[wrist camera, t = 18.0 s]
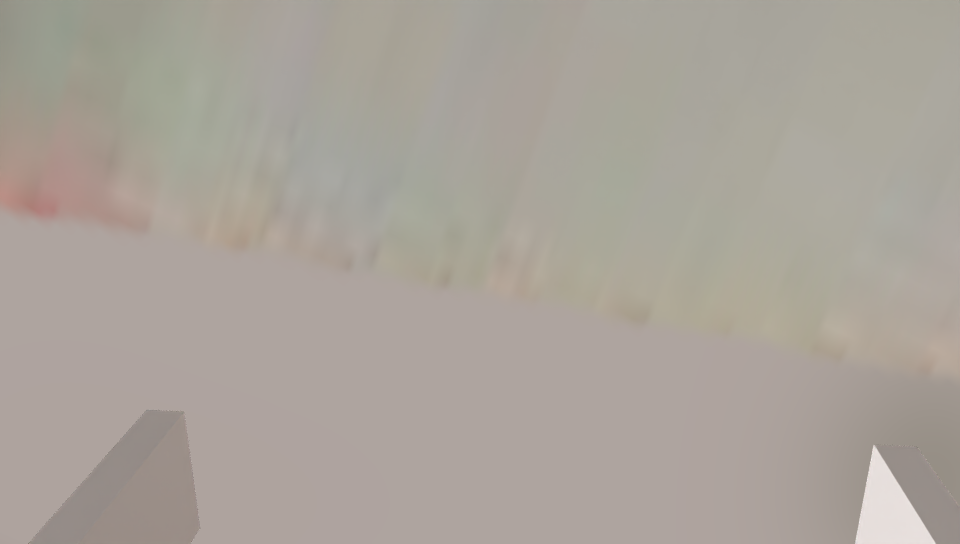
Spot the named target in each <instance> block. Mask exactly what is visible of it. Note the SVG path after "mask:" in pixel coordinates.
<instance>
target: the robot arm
mask: <svg viewBox="0 0 960 544" xmlns="http://www.w3.org/2000/svg"><path fill="white" fill-rule="evenodd" d="M199 529H200V524H199V517H198V509H197V502H196V494H195V487H194V479H193V472H192V464H191V457H190V450H189V443H188V435H187V428H186V420H185V413H184V412H179V411H160V410H146V411H145V412H144V414H143V415H142V416H141V417H140V418H139V419H138V420H137V421H136V423H135V424H134V425H133V426H132V427H131V428H130V429H129V430H128V432H127V433H126V434H125V435H124V436H123V437H122V438H121V440H120V441H119V442H118V443H117V444H116V445H115V446H114V447H113V449H112V450H111V451H110V452H109V453H108V454H107V455H106V456H105V458H104V459H103V460H102V461H101V462H100V463H99V464H98V465H97V467H96V468H95V469H94V470H93V471H92V472H91V473H90V474H89V476H88V477H87V478H86V479H85V480H84V481H83V482H82V483H81V485H80V486H79V487H78V488H77V489H76V490H75V491H74V492H73V494H72V495H71V496H70V497H69V498H68V499H67V500H66V502H65V503H64V504H63V505H62V506H61V507H60V508H59V509H58V511H57V512H56V513H55V514H54V515H53V516H52V517H51V519H50V520H49V521H48V522H47V523H46V524H45V525H44V526H43V527H42V529H41V530H40V531H39V532H38V533H37V534H36V535H35V537H34V538H33V539H32V540H31V541H30V542H29V543H28V544H191V542H192V540H193V539H194V537H195V535H196V534H197V532H198V530H199ZM855 544H960V507H959V505H958V504H957V503H956V501H955V499H954V498H953V497H952V496H951V494H950V492H949V491H948V490H947V488H946V487H945V485H944V484H943V483H942V481H941V480H940V478H939V477H938V475H937V474H936V473H935V471H934V470H933V468H932V467H931V466H930V464H929V463H928V461H927V460H926V459H925V457H924V456H923V454H922V453H921V452H920V450H919V449H918V447H915V446H893V445H874V447H873V452H872V458H871V463H870V468H869V473H868V479H867V484H866V489H865V494H864V500H863V505H862V510H861V515H860V520H859V526H858V531H857V536H856V542H855Z"/></svg>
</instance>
